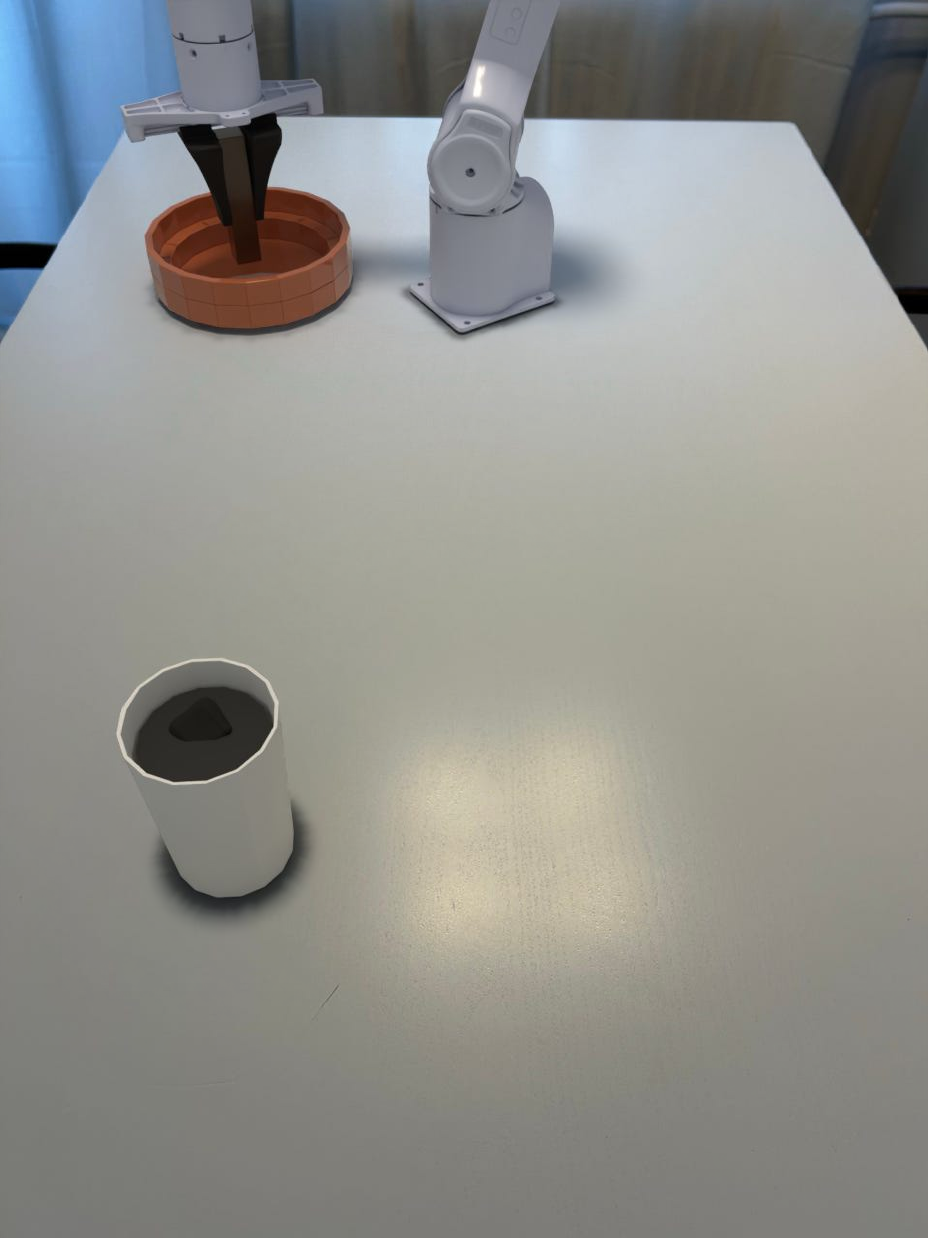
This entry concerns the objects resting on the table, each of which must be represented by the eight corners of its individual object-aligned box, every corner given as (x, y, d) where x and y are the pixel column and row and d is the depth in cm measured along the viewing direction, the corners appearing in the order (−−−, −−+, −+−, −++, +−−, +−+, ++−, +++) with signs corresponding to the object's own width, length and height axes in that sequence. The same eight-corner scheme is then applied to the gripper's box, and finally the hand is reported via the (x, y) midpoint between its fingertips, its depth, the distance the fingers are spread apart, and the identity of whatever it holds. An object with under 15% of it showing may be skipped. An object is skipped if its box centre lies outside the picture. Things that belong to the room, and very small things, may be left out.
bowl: (298, 219, 94) (292, 170, 91) (388, 298, 85) (385, 246, 82) (127, 266, 88) (115, 215, 84) (205, 357, 79) (194, 303, 75)
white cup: (140, 831, 50) (89, 705, 43) (260, 764, 53) (231, 634, 46) (205, 933, 47) (161, 815, 40) (329, 855, 50) (309, 731, 42)
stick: (255, 249, 85) (237, 125, 78) (262, 260, 84) (244, 135, 77) (231, 254, 85) (211, 129, 77) (238, 265, 84) (218, 139, 76)
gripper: (118, 62, 67) (160, 257, 77) (330, 35, 72) (343, 223, 82) (99, 28, 72) (141, 216, 82) (299, 4, 76) (316, 186, 86)
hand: (240, 217), depth 82 cm, fingers closed on stick, 2 cm apart
